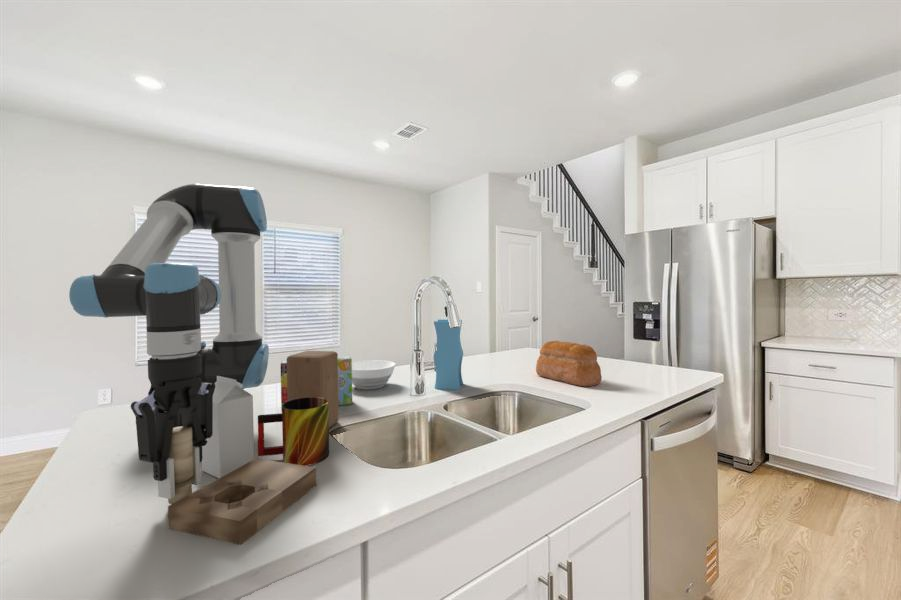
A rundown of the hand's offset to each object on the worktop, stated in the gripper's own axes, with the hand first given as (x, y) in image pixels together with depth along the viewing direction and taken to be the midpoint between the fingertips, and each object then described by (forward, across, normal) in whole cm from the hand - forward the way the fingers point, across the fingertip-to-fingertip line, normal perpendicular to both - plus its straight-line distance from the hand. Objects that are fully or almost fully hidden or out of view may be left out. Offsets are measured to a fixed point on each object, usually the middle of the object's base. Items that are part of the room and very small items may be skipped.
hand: (180, 489), depth 68 cm
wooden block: (+4, +40, +2) cm, 40 cm away
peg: (+2, 0, 0) cm, 2 cm away
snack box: (+4, +57, +13) cm, 58 cm away
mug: (+3, +21, -7) cm, 23 cm away
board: (+3, +4, -11) cm, 12 cm away
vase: (+4, +92, -20) cm, 94 cm away
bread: (+4, +115, -63) cm, 131 cm away
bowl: (+5, +84, +9) cm, 84 cm away
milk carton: (+3, +14, +4) cm, 14 cm away
